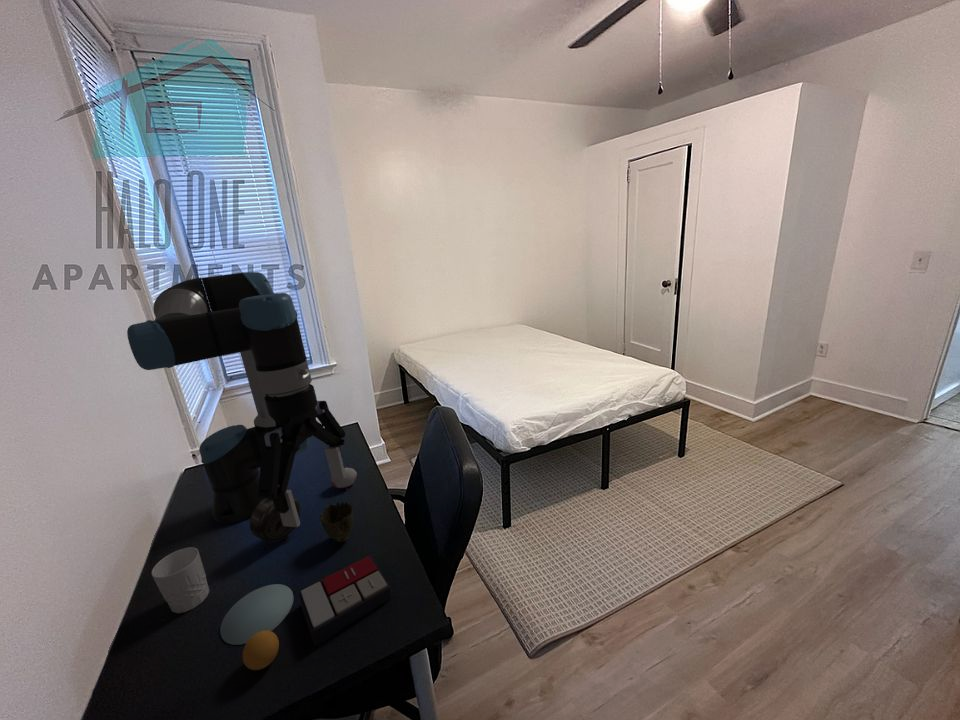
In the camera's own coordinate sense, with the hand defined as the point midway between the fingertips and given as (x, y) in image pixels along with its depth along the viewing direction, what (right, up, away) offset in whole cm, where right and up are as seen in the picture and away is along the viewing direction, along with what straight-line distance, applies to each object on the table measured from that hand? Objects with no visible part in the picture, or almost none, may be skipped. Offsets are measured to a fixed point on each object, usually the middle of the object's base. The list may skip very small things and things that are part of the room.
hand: (317, 499), depth 70 cm
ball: (-9, -25, -3) cm, 27 cm away
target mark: (-15, -25, +8) cm, 31 cm away
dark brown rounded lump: (-5, -19, +26) cm, 32 cm away
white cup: (-32, -26, +13) cm, 43 cm away
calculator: (+2, -24, +9) cm, 26 cm away
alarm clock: (-20, -20, +28) cm, 40 cm away
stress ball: (-12, -13, +48) cm, 51 cm away
